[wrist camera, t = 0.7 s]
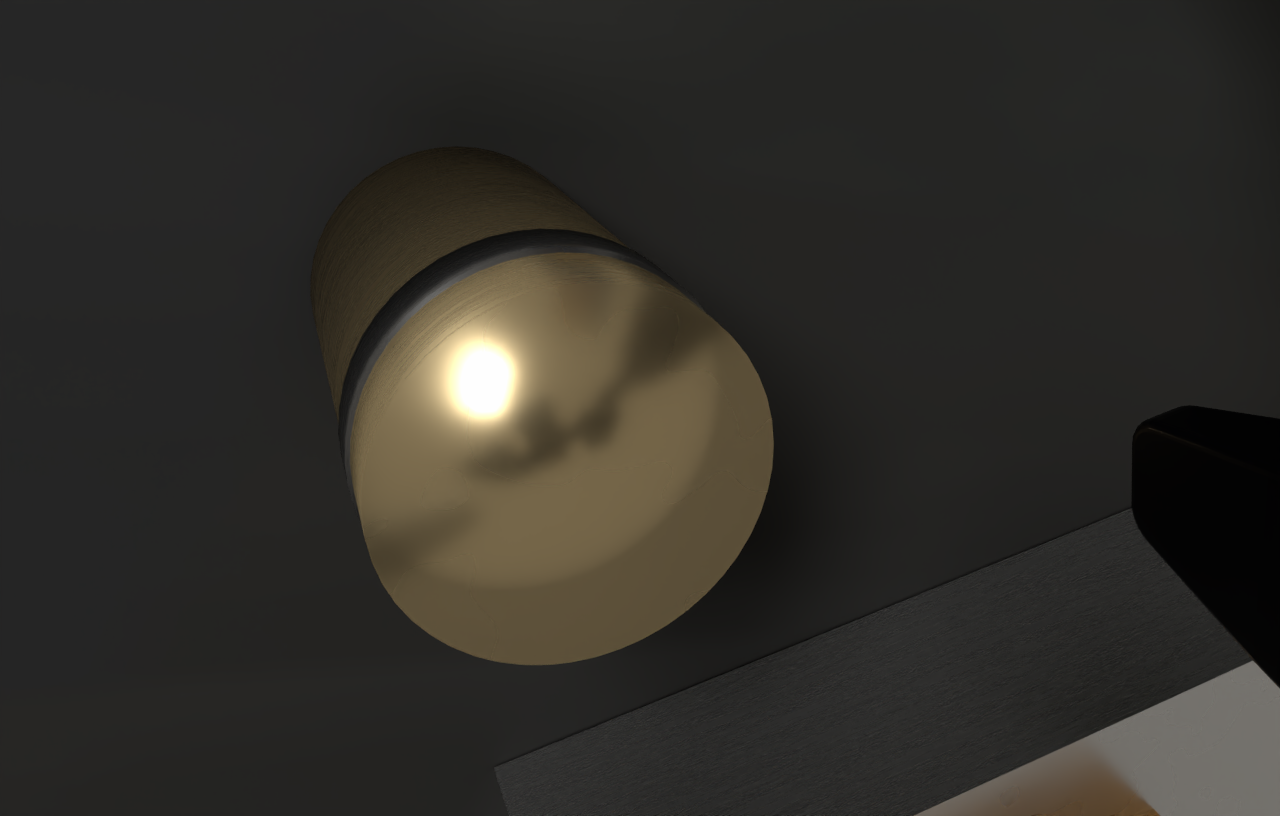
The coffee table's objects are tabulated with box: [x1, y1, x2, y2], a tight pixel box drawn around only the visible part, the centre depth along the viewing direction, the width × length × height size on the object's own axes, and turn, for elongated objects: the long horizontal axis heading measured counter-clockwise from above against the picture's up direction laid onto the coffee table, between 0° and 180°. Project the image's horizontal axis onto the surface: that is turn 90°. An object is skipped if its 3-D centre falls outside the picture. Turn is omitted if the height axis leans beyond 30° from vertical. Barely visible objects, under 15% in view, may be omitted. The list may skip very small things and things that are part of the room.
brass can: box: [311, 147, 774, 665], centre depth 15 cm, size 5×5×7 cm
